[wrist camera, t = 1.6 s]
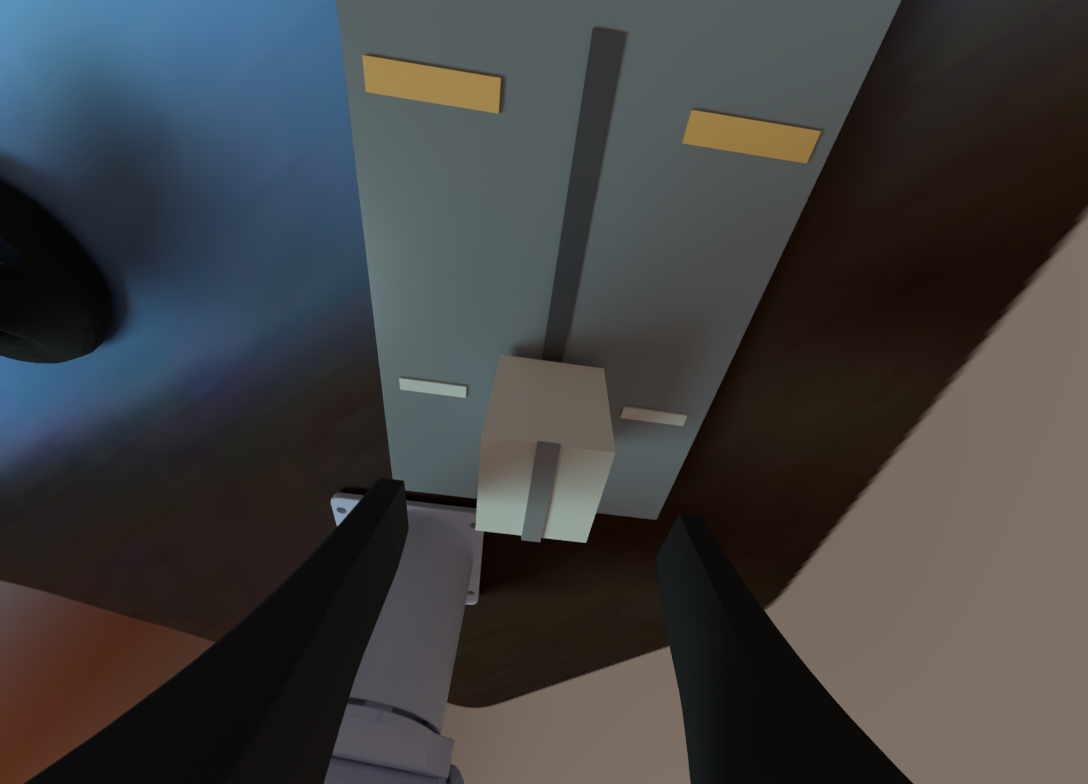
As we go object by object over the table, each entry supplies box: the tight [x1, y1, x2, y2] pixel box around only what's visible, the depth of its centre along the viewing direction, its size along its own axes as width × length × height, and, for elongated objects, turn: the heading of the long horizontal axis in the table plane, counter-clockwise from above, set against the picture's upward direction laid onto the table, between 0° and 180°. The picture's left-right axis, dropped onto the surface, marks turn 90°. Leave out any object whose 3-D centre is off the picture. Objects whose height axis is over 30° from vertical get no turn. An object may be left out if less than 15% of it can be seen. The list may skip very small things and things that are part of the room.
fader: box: [475, 355, 616, 543], centre depth 14 cm, size 4×4×4 cm
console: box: [336, 0, 901, 520], centre depth 15 cm, size 18×12×2 cm, turn 172°
